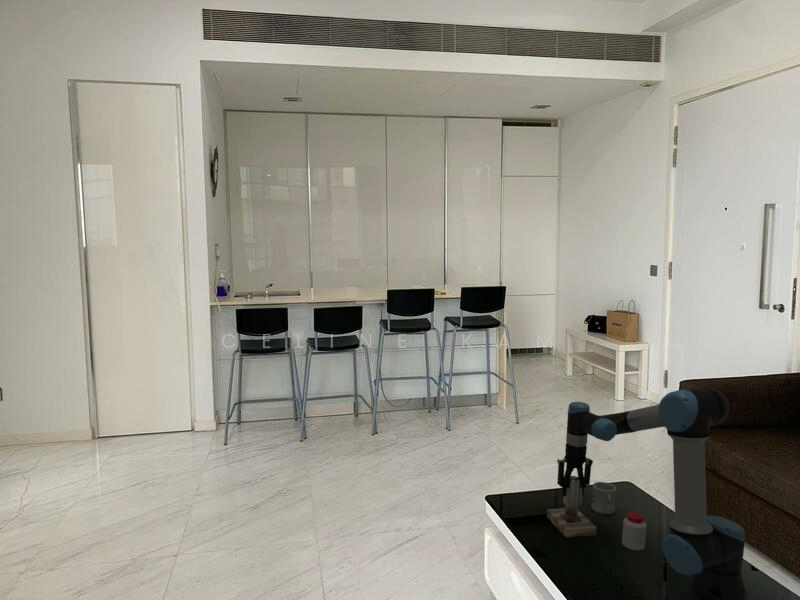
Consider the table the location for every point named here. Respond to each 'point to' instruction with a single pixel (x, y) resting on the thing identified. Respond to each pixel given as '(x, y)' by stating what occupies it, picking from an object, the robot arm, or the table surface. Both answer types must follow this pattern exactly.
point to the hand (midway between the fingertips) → (572, 503)
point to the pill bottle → (634, 531)
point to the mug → (603, 498)
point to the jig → (571, 529)
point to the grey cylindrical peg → (573, 497)
